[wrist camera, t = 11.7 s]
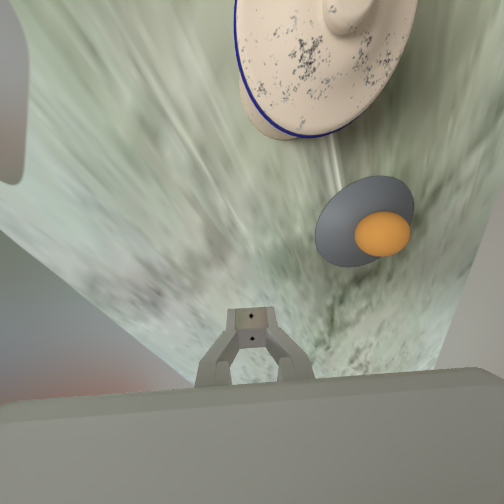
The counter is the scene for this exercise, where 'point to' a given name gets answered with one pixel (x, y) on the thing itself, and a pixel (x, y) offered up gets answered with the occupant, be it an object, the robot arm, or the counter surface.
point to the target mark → (358, 217)
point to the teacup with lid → (316, 60)
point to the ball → (382, 233)
